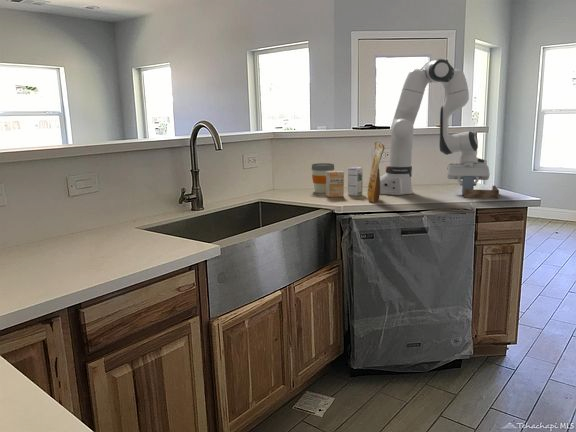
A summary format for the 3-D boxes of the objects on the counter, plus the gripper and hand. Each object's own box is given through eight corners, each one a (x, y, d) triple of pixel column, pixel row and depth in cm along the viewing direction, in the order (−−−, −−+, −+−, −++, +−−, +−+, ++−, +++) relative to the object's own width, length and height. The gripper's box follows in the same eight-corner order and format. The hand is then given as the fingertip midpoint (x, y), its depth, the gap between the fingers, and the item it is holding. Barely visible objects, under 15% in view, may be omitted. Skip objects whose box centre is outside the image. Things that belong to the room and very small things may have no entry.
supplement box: (329, 197, 232) (329, 172, 229) (325, 196, 236) (325, 171, 233) (344, 196, 234) (344, 171, 231) (340, 195, 238) (340, 170, 236)
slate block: (462, 195, 232) (463, 178, 230) (461, 193, 237) (463, 176, 235) (472, 195, 231) (474, 178, 229) (472, 194, 235) (473, 177, 233)
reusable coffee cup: (338, 192, 249) (338, 164, 245) (317, 193, 244) (317, 166, 241) (328, 189, 260) (328, 162, 257) (308, 190, 255) (307, 163, 252)
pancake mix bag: (380, 196, 233) (381, 141, 227) (383, 203, 214) (384, 143, 208) (366, 196, 234) (367, 141, 228) (368, 203, 215) (369, 143, 209)
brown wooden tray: (464, 197, 226) (464, 189, 225) (462, 192, 242) (463, 184, 241) (498, 198, 222) (499, 190, 221) (494, 193, 237) (495, 185, 236)
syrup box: (357, 196, 236) (357, 168, 233) (347, 195, 239) (347, 167, 236) (362, 194, 240) (363, 167, 237) (352, 193, 244) (353, 166, 241)
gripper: (447, 159, 240) (446, 180, 233) (489, 160, 233) (490, 181, 226) (447, 167, 245) (446, 188, 238) (488, 168, 239) (488, 189, 232)
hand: (468, 185), depth 232 cm, fingers closed on slate block, 5 cm apart
